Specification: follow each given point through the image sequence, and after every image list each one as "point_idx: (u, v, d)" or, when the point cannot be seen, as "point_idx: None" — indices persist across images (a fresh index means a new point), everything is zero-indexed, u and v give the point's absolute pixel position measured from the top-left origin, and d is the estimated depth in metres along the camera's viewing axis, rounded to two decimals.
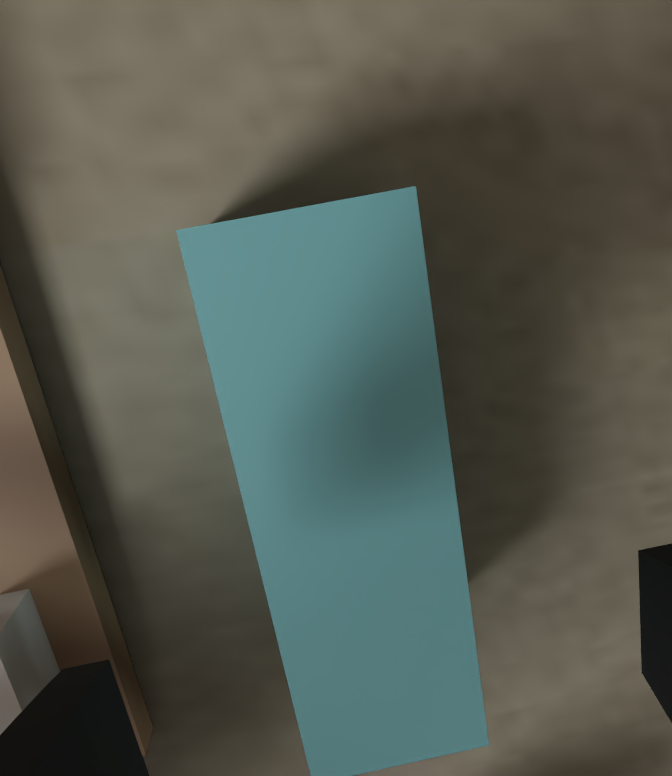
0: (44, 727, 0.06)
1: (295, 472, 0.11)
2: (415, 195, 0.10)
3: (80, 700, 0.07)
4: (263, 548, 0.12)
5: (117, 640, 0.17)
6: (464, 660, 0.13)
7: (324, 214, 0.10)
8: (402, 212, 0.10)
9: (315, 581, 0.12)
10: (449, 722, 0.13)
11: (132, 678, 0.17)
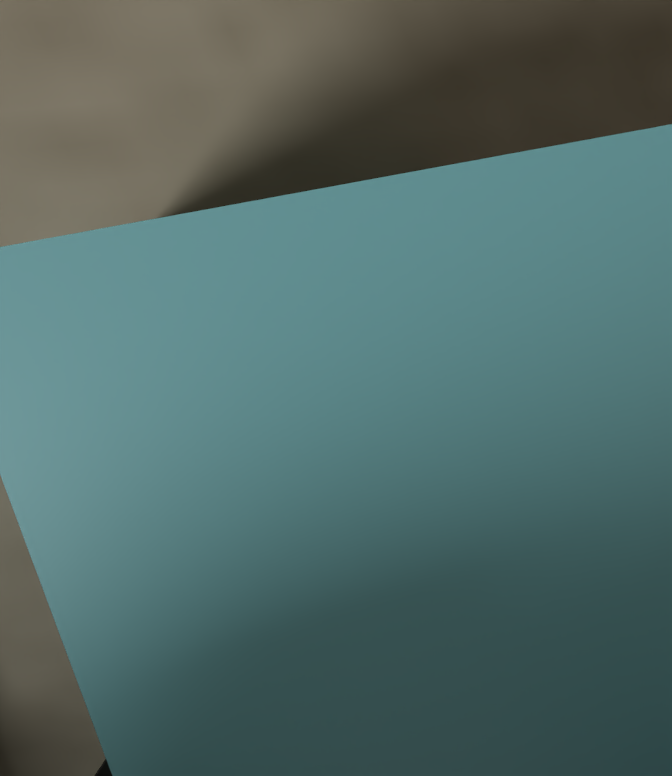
0: None
1: None
2: None
3: None
4: None
5: None
6: None
7: (419, 208, 0.03)
8: (666, 202, 0.03)
9: None
10: None
11: None
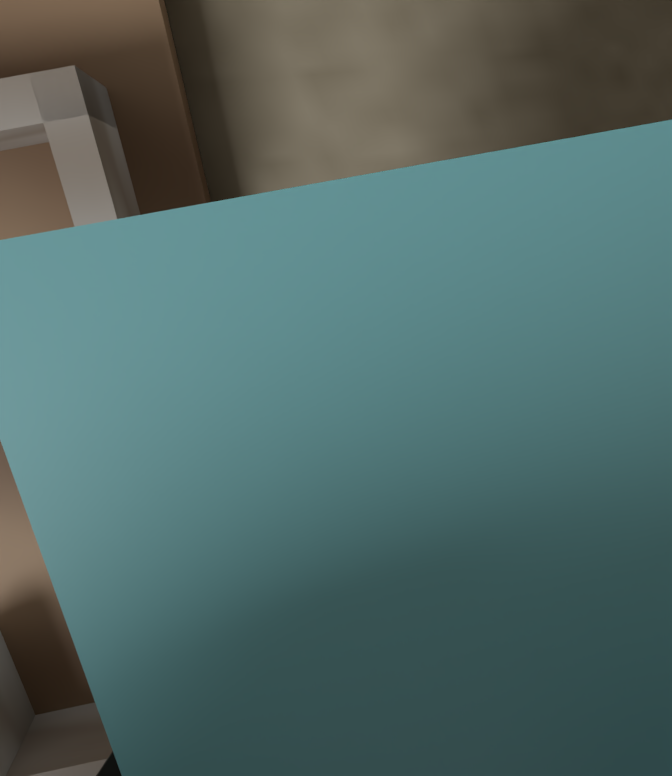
0: None
1: None
2: None
3: None
4: None
5: None
6: None
7: (424, 201, 0.03)
8: (668, 196, 0.03)
9: None
10: None
11: None
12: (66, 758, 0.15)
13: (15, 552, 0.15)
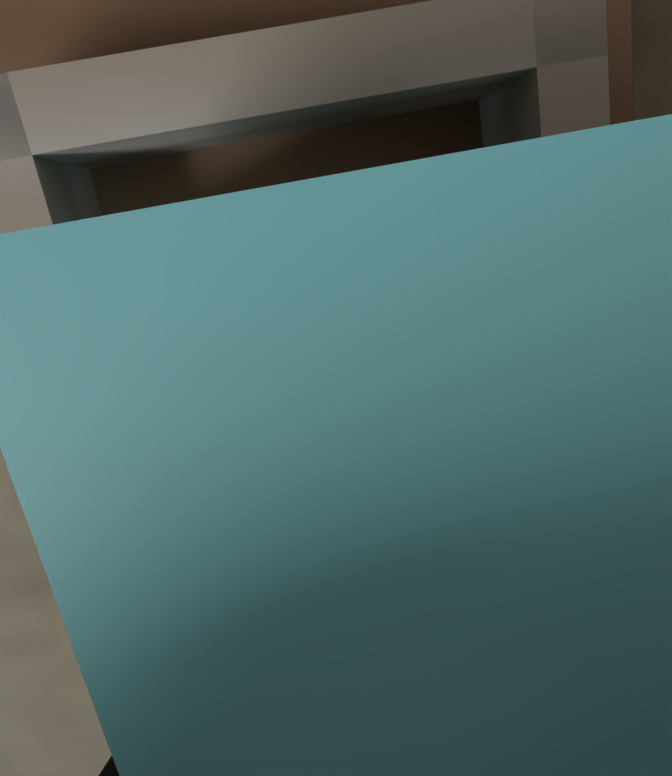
0: None
1: None
2: None
3: None
4: None
5: None
6: None
7: (413, 197, 0.03)
8: (656, 193, 0.03)
9: None
10: None
11: None
12: None
13: None
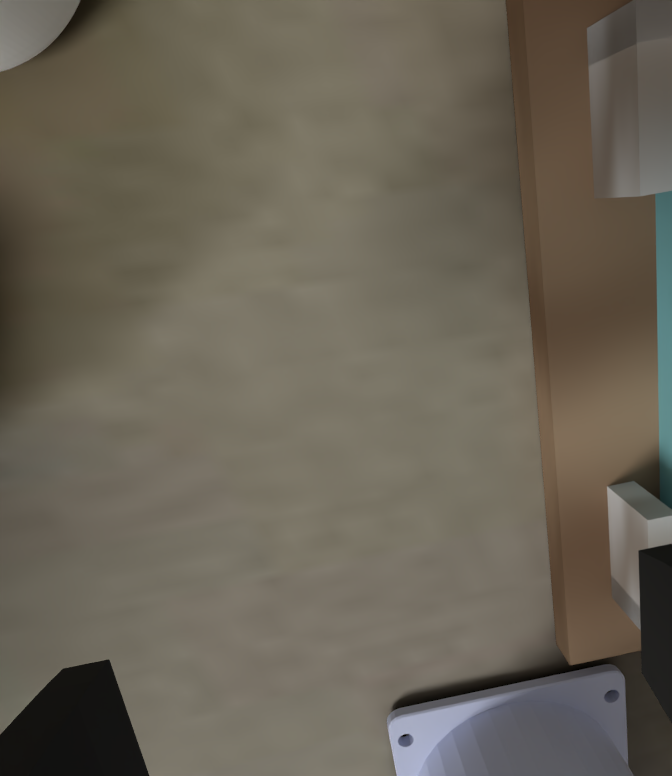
0: (44, 727, 0.06)
1: None
2: None
3: (80, 700, 0.07)
4: None
5: None
6: None
7: None
8: None
9: None
10: None
11: None
12: None
13: None
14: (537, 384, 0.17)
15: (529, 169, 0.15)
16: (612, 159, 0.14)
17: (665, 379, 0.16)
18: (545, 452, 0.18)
